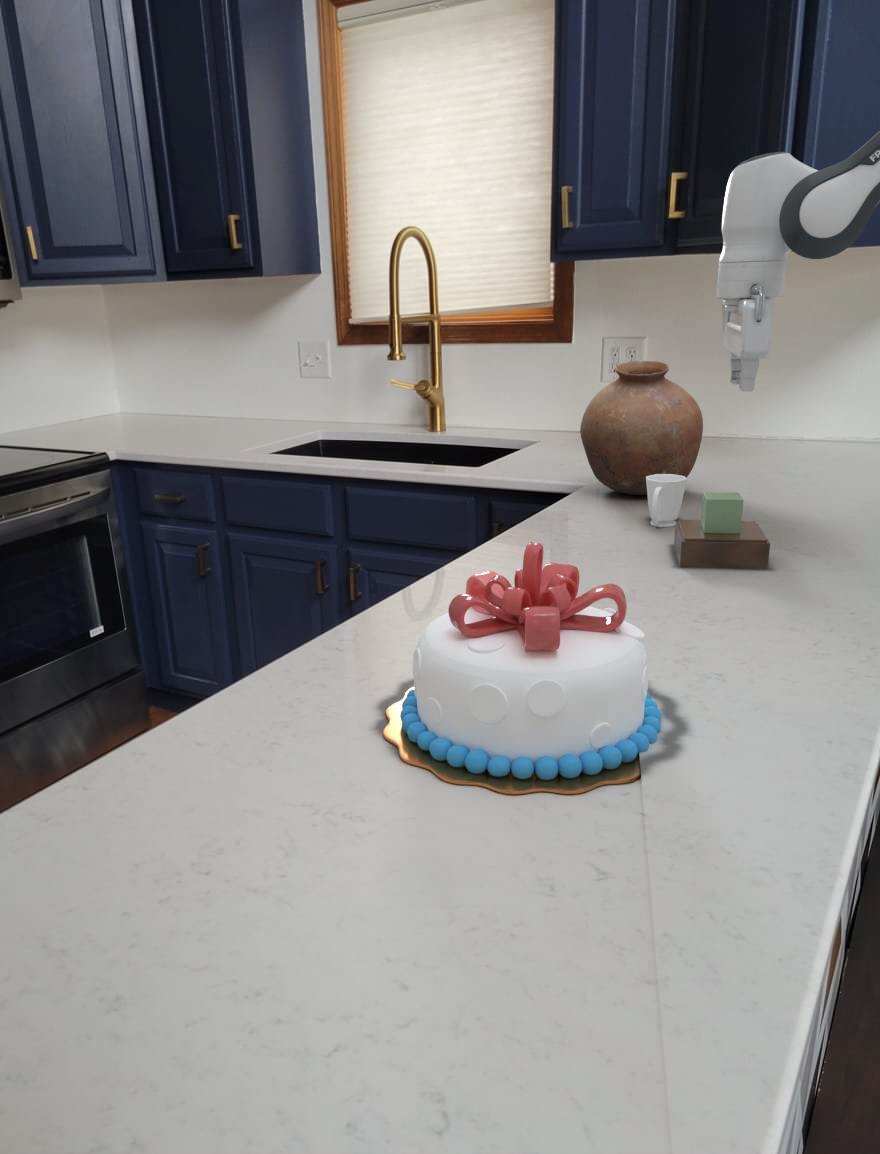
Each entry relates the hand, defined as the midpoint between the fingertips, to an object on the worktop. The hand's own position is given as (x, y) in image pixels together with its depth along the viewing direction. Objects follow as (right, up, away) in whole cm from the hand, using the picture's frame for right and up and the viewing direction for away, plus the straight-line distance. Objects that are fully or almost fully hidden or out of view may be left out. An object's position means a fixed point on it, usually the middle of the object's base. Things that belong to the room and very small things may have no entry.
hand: (741, 387), depth 137 cm
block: (-2, -20, +3) cm, 20 cm away
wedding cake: (-37, -44, -45) cm, 73 cm away
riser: (-2, -25, +5) cm, 25 cm away
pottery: (-2, -7, +52) cm, 52 cm away
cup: (-4, -17, +26) cm, 32 cm away
